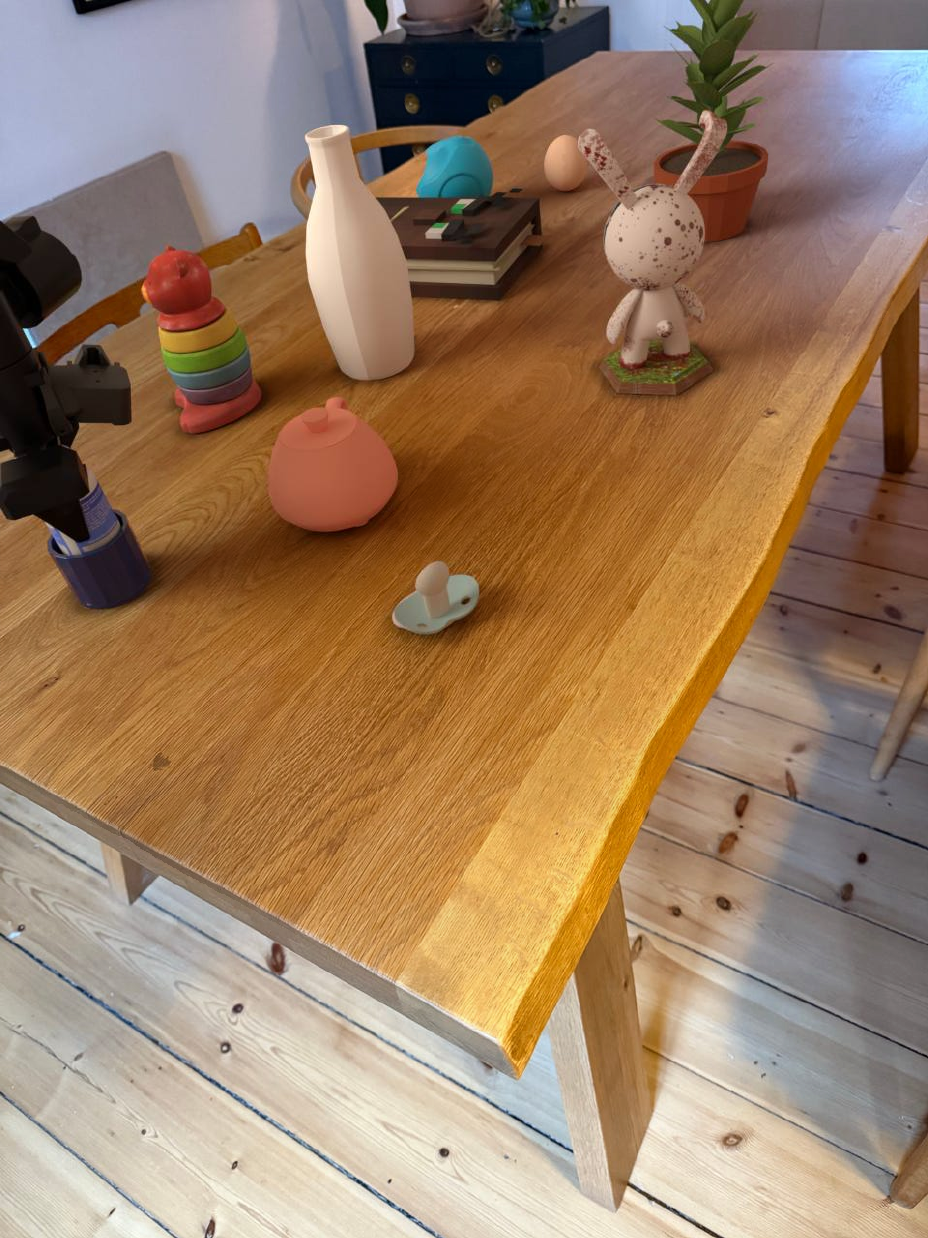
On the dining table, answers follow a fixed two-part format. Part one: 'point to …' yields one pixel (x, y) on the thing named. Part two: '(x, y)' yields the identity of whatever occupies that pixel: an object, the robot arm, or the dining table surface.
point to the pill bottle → (91, 522)
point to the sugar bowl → (330, 470)
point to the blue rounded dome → (456, 170)
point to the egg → (565, 163)
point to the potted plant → (736, 163)
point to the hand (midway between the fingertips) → (81, 523)
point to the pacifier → (436, 600)
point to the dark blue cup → (105, 569)
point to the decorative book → (466, 242)
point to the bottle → (356, 265)
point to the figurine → (654, 269)
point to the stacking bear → (199, 343)
